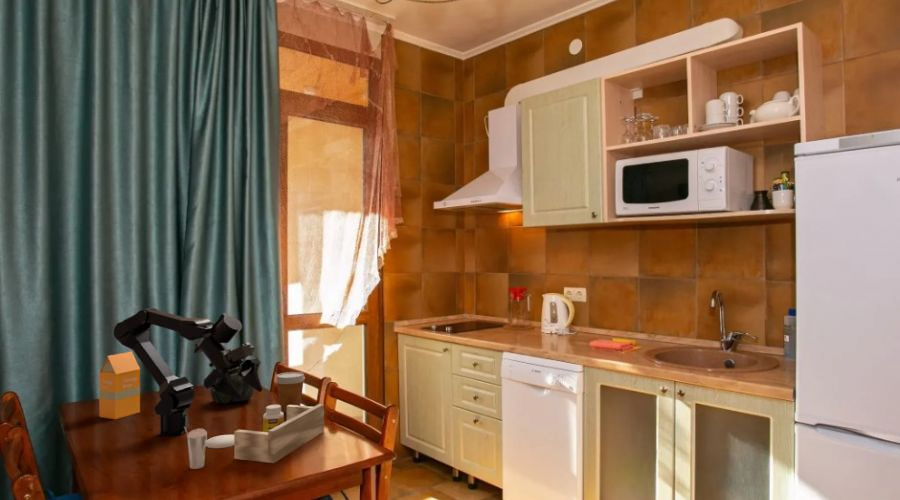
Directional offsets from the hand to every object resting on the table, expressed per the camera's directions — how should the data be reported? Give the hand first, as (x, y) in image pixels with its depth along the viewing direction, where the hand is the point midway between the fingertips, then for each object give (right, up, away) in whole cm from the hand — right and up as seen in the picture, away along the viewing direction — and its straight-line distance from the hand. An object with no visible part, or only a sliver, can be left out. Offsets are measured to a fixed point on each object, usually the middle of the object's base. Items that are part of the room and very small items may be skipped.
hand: (251, 394), depth 155 cm
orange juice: (-53, -13, +26) cm, 60 cm away
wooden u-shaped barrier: (+10, -13, -3) cm, 16 cm away
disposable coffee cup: (+2, -13, +30) cm, 33 cm away
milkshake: (-7, -13, -19) cm, 24 cm away
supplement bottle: (+7, -13, -2) cm, 15 cm away
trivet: (-7, -13, -1) cm, 15 cm away
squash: (-22, -13, +41) cm, 49 cm away
